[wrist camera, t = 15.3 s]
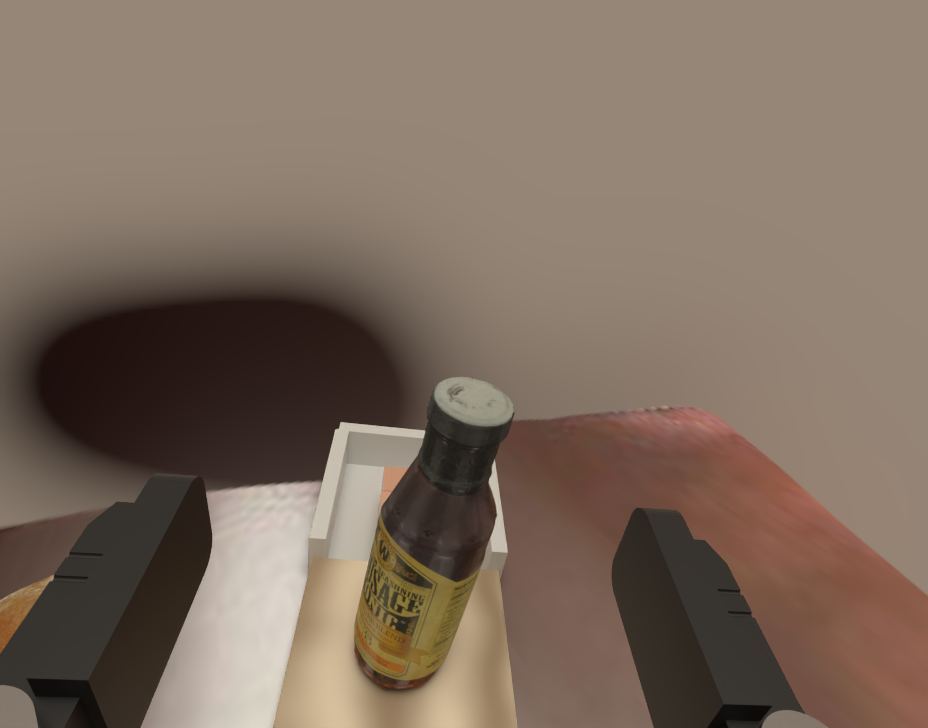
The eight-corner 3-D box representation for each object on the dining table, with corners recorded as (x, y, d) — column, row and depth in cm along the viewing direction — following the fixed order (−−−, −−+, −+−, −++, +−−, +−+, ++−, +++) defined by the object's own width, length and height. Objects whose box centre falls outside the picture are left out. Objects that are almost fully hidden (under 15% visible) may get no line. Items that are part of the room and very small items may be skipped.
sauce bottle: (334, 628, 37) (377, 365, 27) (417, 594, 40) (480, 352, 31) (379, 721, 32) (449, 446, 23) (467, 674, 36) (559, 419, 27)
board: (492, 591, 44) (498, 570, 43) (510, 761, 34) (518, 740, 33) (311, 579, 43) (312, 557, 42) (272, 754, 32) (272, 731, 31)
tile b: (432, 534, 47) (430, 509, 50) (439, 493, 45) (437, 469, 48) (378, 532, 47) (379, 507, 49) (383, 490, 45) (384, 466, 47)
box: (483, 472, 56) (491, 437, 54) (496, 592, 44) (507, 552, 42) (335, 459, 55) (337, 422, 52) (307, 579, 43) (308, 537, 40)
